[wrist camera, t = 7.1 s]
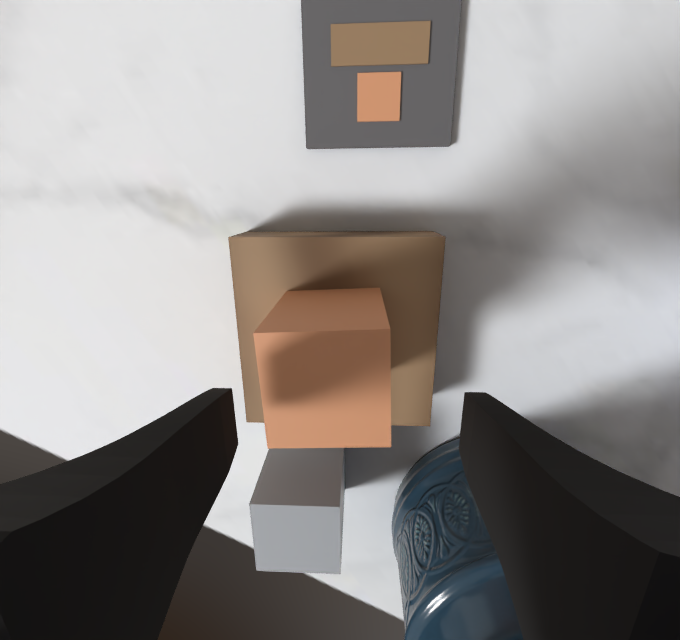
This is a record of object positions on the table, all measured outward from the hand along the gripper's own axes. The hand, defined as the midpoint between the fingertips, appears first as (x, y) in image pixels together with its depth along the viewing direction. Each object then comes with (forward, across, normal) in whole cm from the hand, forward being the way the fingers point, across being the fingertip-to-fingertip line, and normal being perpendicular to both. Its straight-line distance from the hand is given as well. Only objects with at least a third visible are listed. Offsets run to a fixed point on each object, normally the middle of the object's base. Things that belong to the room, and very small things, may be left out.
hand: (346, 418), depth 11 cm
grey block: (+10, +3, +10) cm, 15 cm away
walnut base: (+11, +1, 0) cm, 11 cm away
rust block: (+7, +1, 0) cm, 7 cm away
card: (+10, -1, -12) cm, 16 cm away
